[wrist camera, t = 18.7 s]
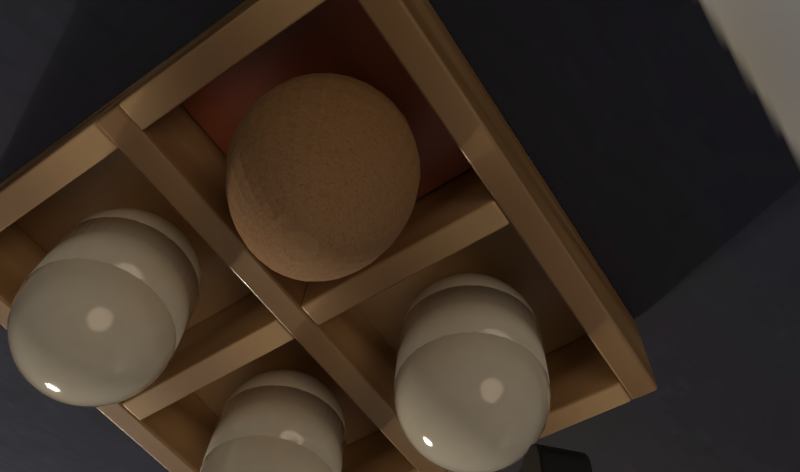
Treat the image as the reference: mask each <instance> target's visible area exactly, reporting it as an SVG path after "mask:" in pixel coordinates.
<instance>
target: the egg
mask: <svg viewBox="0 0 800 472" xmlns="http://www.w3.org/2000/svg"><path fill="white" fill-rule="evenodd" d="M419 181H420V158H419V154H418V150H417V146H416V142H415V139H414V136H413V133H412V131H411V129H410V127H409V125H408V122H407V120H406V118H405V117H404V116H403V114H402V113H401V112H400V110H399V109H398V108H397V106H396V105H395V104H394V103H393V102H392V101H391V100H390V99H389V98H387V97H386V96H385V95H384V94H383V93H382V92H380V91H379V90H377V89H375V88H374V87H372V86H371V85H369V84H367V83H365V82H363V81H360V80H357V79H355V78H352V77H349V76H345V75H339V74H333V73H312V74H307V75H302V76H298V77H294V78H292V79H289V80H287V81H285V82H283V83H280V84H279V85H277V86H276V87H274V88H273V89H271V90H270V91H269V92H267V93H266V94H264V95H263V96H262V97H260V98H259V99H258V100H256V101H255V103H254V104H253V105H252V106H251V107H250V108H249V109H248V111H247V112H246V113H245V114H244V116H243V118H242V120H241V122H240V123H239V125H238V127H237V129H236V131H235V134H234V136H233V138H232V140H231V143H230V147H229V151H228V154H227V160H226V180H225V190H226V196H227V202H228V206H229V210H230V214H231V217H232V220H233V222H234V225H235V227H236V230H237V231H238V233H239V235H240V236H241V238H242V239H243V241H244V242H245V244H246V246H247V247H248V249H249V250H250V251H251V252H252V253H253V254H254V255H255V256H256V257H257V259H258V260H260V261H261V262H262V263H264V264H265V265H266V266H268V267H269V268H270V269H272V270H273V271H275V272H277V273H279V274H281V275H283V276H286V277H289V278H292V279H295V280H301V281H328V280H335V279H339V278H341V277H344V276H347V275H350V274H352V273H354V272H357V271H359V270H360V269H362V268H364V267H366V266H367V265H369V264H371V263H372V262H373V261H374V260H375V259H376V258H378V257H379V256H380V255H381V254H382V253H383V252H384V251H386V250H387V249H388V248H389V247H390V246H391V245H392V244H393V242H394V241H395V240H396V238H397V237H398V236H399V234H400V233H401V231H402V230H403V228H404V226H405V225H406V223H407V222H408V220H409V217H410V215H411V213H412V211H413V208H414V206H415V201H416V196H417V191H418V186H419Z"/></svg>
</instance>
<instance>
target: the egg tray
mask: <svg viewBox="0 0 800 472" xmlns="http://www.w3.org/2000/svg"><path fill="white" fill-rule="evenodd" d="M312 73H333V74H339V75H345V76H349V77H352V78H355V79H357V80H360V81H363V82H365V83H367V84H369V85H371V86H372V87H374V88H375V89H377V90H379V91H380V92H382V93H383V94H384V95H385V96H386V97H387V98H389V99H390V100H391V101H392V102H393V103H394V104H395V105H396V106H397V108H398V109H399V110H400V112H401V113H402V114H403V116H404V117H405V118H406V120H407V122H408V125H409V127H410V129H411V131H412V133H413V136H414V139H415V142H416V146H417V150H418V154H419V158H420V181H419V186H418V191H417V196H416V201H415V206H414V208H413V211H412V213H411V215H410V217H409V220H408V222H407V223H406V225H405V226H404V228H403V230H402V231H401V233H400V234H399V236H398V237H397V238H396V240H395V241H394V242H393V244H392V245H391V246H390V247H389V248H388V249H387V250H386V251H384V252H383V253H382V254H381V255H380V256H379V257H378V258H376V259H375V260H374V261H373V262H372V263H371V264H369V265H367V266H366V267H364V268H362V269H360V270H359V271H357V272H354V273H352V274H350V275H347V276H344V277H341V278H339V279H335V280H328V281H301V280H295V279H292V278H289V277H286V276H283V275H281V274H279V273H277V272H275V271H273V270H272V269H270V268H269V267H268V266H266V265H265V264H264V263H262V262H261V261H260V260H258V259H257V257H256V256H255V255H254V254H253V253H252V252H251V251H250V250H249V249H248V247H247V246H246V244H245V242H244V241H243V239H242V238H241V236H240V235H239V233H238V231H237V230H236V227H235V225H234V222H233V220H232V217H231V214H230V210H229V206H228V202H227V196H226V190H225V180H226V160H227V154H228V151H229V147H230V143H231V140H232V138H233V136H234V134H235V131H236V129H237V127H238V125H239V123H240V122H241V120H242V118H243V116H244V114H245V113H246V112H247V111H248V109H249V108H250V107H251V106H252V105H253V104H254V103H255V101H256V100H258V99H259V98H260V97H262V96H263V95H264V94H266V93H267V92H269V91H270V90H271V89H273V88H274V87H276V86H277V85H279V84H280V83H283V82H285V81H287V80H289V79H292V78H294V77H298V76H302V75H307V74H312ZM125 207H131V208H140V209H145V210H148V211H152V212H155V213H157V214H159V215H161V216H163V217H165V218H167V219H168V220H170V221H171V222H173V223H174V224H176V225H177V226H178V227H179V228H180V229H181V230H182V231H183V232H184V233H185V234H186V236H187V237H188V238H189V239H190V241H191V243H192V244H193V246H194V248H195V250H196V252H197V255H198V258H199V261H200V264H201V273H202V288H201V293H200V297H199V301H198V304H197V307H196V309H195V311H194V313H193V315H192V317H191V319H190V321H189V323H188V325H187V328H186V330H185V332H184V334H183V336H182V338H181V340H180V342H179V344H178V346H177V348H176V350H175V352H174V354H173V356H172V358H171V360H170V362H169V363H168V365H167V366H166V368H165V369H164V371H163V372H162V373H161V374H160V375H159V377H158V378H157V379H156V380H155V381H154V382H153V383H152V384H150V385H149V386H148V387H147V388H145V389H144V390H143V391H141V392H140V393H138V394H137V395H134V396H132V397H130V398H128V399H126V400H124V401H121V402H119V403H115V404H111V405H106V406H99V407H96V408H97V409H98V410H100V411H101V412H102V413H103V414H104V415H105V416H106V417H108V418H109V419H110V420H111V421H112V422H113V423H114V424H116V425H117V426H118V427H119V428H120V429H121V430H123V431H124V432H125V433H126V434H127V435H128V436H129V437H131V438H132V439H133V440H134V441H135V442H136V443H137V444H139V445H140V446H141V447H142V448H143V449H144V450H145V451H147V452H148V453H149V454H150V455H151V456H152V457H154V458H155V459H156V460H157V461H158V462H159V463H160V464H162V465H163V466H164V467H165V468H166V469H167V470H168V471H170V472H200V468H201V465H202V462H203V459H204V457H205V454H206V451H207V449H208V446H209V443H210V440H211V438H212V435H213V432H214V429H215V427H216V424H217V421H218V419H219V416H220V413H221V411H222V409H223V407H224V405H225V403H226V402H227V400H228V398H229V397H230V395H231V394H232V393H233V392H234V391H235V390H236V389H237V388H238V387H239V386H240V385H241V384H242V383H243V382H245V381H246V380H248V379H249V378H251V377H253V376H255V375H256V374H259V373H261V372H264V371H268V370H273V369H284V368H288V369H296V370H300V371H304V372H306V373H309V374H311V375H313V376H314V377H316V378H318V379H319V380H321V381H322V382H323V383H325V384H326V385H327V386H328V387H329V388H330V389H331V390H332V392H333V393H334V394H335V396H336V397H337V399H338V401H339V403H340V405H341V407H342V409H343V412H344V416H345V421H346V426H347V430H346V446H345V453H344V459H343V465H342V471H341V472H450V471H447V470H445V469H442V468H440V467H438V466H437V465H435V464H433V463H432V462H430V461H429V460H427V459H426V458H424V457H423V456H422V455H421V454H420V453H419V452H418V451H417V450H416V449H415V448H414V446H413V445H412V444H411V442H410V441H409V440H408V438H407V437H406V435H405V434H404V432H403V430H402V428H401V425H400V423H399V420H398V417H397V414H396V409H395V402H394V382H395V371H396V361H397V350H398V339H399V332H400V328H401V324H402V321H403V318H404V315H405V313H406V311H407V309H408V308H409V306H410V305H411V303H412V302H413V300H414V299H415V297H416V296H417V295H418V294H419V293H420V292H421V291H422V290H423V289H424V288H426V287H427V286H429V285H431V284H432V283H434V282H435V281H437V280H439V279H441V278H443V277H446V276H448V275H453V274H457V273H467V272H474V273H483V274H486V275H490V276H494V277H496V278H498V279H500V280H502V281H504V282H506V283H508V284H509V285H511V286H512V287H513V288H515V289H516V290H517V291H519V293H520V294H521V295H522V296H523V297H524V298H525V299H526V300H527V302H528V303H529V304H530V306H531V307H532V309H533V311H534V313H535V315H536V317H537V320H538V323H539V326H540V329H541V334H542V339H543V345H544V351H545V357H546V363H547V369H548V375H549V381H550V392H551V393H550V411H549V414H548V418H547V422H546V426H545V429H544V431H543V432H542V434H541V436H540V438H543V437H545V436H547V435H550V434H552V433H555V432H557V431H559V430H562V429H564V428H567V427H569V426H572V425H574V424H576V423H579V422H581V421H584V420H586V419H588V418H591V417H593V416H596V415H598V414H600V413H603V412H605V411H608V410H610V409H613V408H615V407H617V406H620V405H622V404H625V403H627V402H629V401H631V398H632V399H636V398H638V397H641V396H643V395H646V394H648V393H650V392H653V391H655V390H657V384H656V381H655V378H654V375H653V373H652V370H651V367H650V364H649V361H648V358H647V355H646V352H645V349H644V347H643V344H642V341H641V338H640V335H639V333H638V329H637V326H636V323H635V321H634V319H633V318H632V316H631V315H630V313H629V312H628V310H627V308H626V307H625V305H624V304H623V302H622V301H621V299H620V298H619V296H618V294H617V293H616V291H615V290H614V288H613V287H612V285H611V284H610V282H609V281H608V279H607V277H606V276H605V274H604V273H603V271H602V270H601V268H600V267H599V265H598V263H597V262H596V260H595V259H594V257H593V256H592V254H591V253H590V251H589V249H588V248H587V246H586V245H585V243H584V242H583V240H582V239H581V237H580V235H579V234H578V232H577V231H576V229H575V228H574V226H573V225H572V223H571V222H570V220H569V218H568V217H567V215H566V214H565V212H564V211H563V209H562V208H561V206H560V204H559V203H558V201H557V200H556V198H555V197H554V195H553V194H552V192H551V190H550V189H549V187H548V186H547V184H546V183H545V181H544V180H543V178H542V176H541V175H540V173H539V172H538V170H537V169H536V167H535V166H534V164H533V163H532V161H531V159H530V158H529V156H528V155H527V153H526V152H525V150H524V149H523V147H522V145H521V144H520V142H519V141H518V139H517V138H516V136H515V135H514V133H513V131H512V130H511V128H510V127H509V125H508V124H507V122H506V121H505V119H504V117H503V116H502V114H501V113H500V111H499V110H498V108H497V107H496V105H495V104H494V102H493V100H492V99H491V97H490V96H489V94H488V93H487V91H486V90H485V88H484V86H483V85H482V83H481V82H480V80H479V79H478V77H477V76H476V74H475V72H474V71H473V69H472V68H471V66H470V65H469V63H468V62H467V60H466V58H465V57H464V55H463V54H462V52H461V51H460V49H459V48H458V46H457V45H456V43H455V41H454V40H453V38H452V37H451V35H450V34H449V32H448V31H447V29H446V27H445V26H444V24H443V23H442V21H441V20H440V18H439V17H438V15H437V13H436V12H435V10H434V9H433V7H432V6H431V4H430V3H429V1H428V0H245V1H244V2H242V3H241V4H240V5H238V6H237V7H236V8H234V9H233V10H232V11H230V12H229V13H228V14H226V15H225V16H224V17H222V18H221V19H220V20H218V21H217V22H216V23H214V24H213V25H212V26H210V27H209V28H208V29H206V30H205V31H204V32H202V33H201V34H200V35H198V36H197V37H196V38H194V39H193V40H192V41H190V42H189V43H188V44H186V45H185V46H183V47H182V48H181V49H179V50H178V51H177V52H175V53H174V54H173V55H171V56H170V57H169V58H167V59H166V60H165V61H163V62H162V63H161V64H159V65H158V66H157V67H155V68H154V69H153V70H151V71H150V72H149V73H147V74H146V75H145V76H143V77H142V78H141V79H139V80H138V81H137V82H135V83H134V84H133V85H131V86H130V87H128V88H127V89H126V90H124V91H123V92H122V93H120V94H119V95H118V96H116V97H115V98H114V99H112V100H111V101H110V102H108V103H107V104H106V105H104V106H103V107H102V108H100V109H99V110H98V111H96V112H95V113H94V114H92V115H91V116H90V117H88V118H87V119H86V120H84V121H83V122H82V123H80V124H79V125H78V126H76V127H75V128H73V129H72V130H71V131H69V132H68V133H67V134H65V135H64V136H63V137H61V138H60V139H59V140H57V141H56V142H55V143H53V144H52V145H51V146H49V147H48V148H47V149H45V150H44V151H43V152H41V153H40V154H39V155H37V156H36V157H35V158H33V159H32V160H31V161H29V162H28V163H27V164H25V165H24V166H23V167H21V168H20V169H19V170H17V171H16V172H14V173H13V174H12V175H10V176H9V177H8V178H6V179H5V180H4V181H2V182H1V183H0V324H1V325H2V326H3V327H4V328H5V329H6V330H7V320H8V316H9V313H10V309H11V306H12V303H13V299H14V297H15V295H16V294H17V292H18V291H19V289H20V287H21V286H22V284H23V282H24V281H25V279H26V278H27V277H28V276H29V275H30V274H31V272H32V271H33V270H34V269H35V268H36V267H37V266H38V264H39V263H40V262H41V261H42V260H43V259H44V257H45V256H46V255H47V254H48V253H49V252H50V250H51V249H52V248H53V247H54V246H55V245H56V243H57V242H58V241H59V240H60V239H61V238H62V237H63V235H64V234H65V233H66V232H67V231H68V230H70V229H71V228H72V227H73V226H74V225H76V224H77V223H78V222H79V221H80V220H82V219H84V218H86V217H88V216H90V215H92V214H94V213H97V212H99V211H103V210H107V209H111V208H125ZM540 438H539V439H540Z"/></svg>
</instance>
